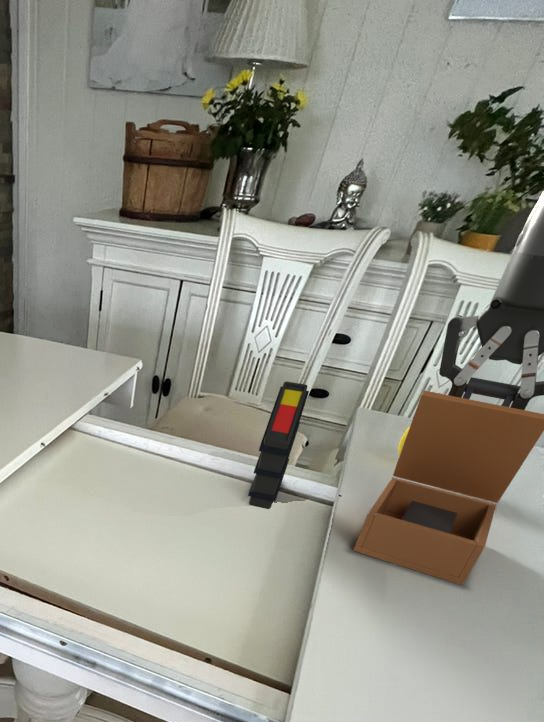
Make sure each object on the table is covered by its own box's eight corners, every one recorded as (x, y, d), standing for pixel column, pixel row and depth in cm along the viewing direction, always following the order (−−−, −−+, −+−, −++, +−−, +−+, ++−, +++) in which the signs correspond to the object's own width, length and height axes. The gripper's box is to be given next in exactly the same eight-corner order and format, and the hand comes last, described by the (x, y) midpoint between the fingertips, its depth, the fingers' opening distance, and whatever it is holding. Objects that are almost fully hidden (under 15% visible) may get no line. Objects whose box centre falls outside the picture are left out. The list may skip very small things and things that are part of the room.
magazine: (288, 464, 91) (311, 383, 78) (267, 530, 86) (288, 455, 73) (263, 459, 92) (282, 379, 79) (241, 524, 87) (257, 450, 74)
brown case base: (462, 585, 69) (484, 546, 66) (352, 550, 74) (368, 512, 71) (476, 540, 78) (496, 504, 74) (377, 512, 83) (392, 476, 80)
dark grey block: (447, 533, 77) (457, 512, 75) (434, 565, 71) (445, 543, 69) (402, 520, 80) (412, 500, 78) (386, 550, 73) (396, 528, 71)
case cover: (550, 420, 61) (567, 381, 63) (421, 394, 67) (439, 359, 68) (497, 503, 74) (512, 469, 75) (392, 476, 79) (408, 445, 81)
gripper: (646, 255, 57) (547, 429, 68) (482, 240, 63) (415, 401, 74) (651, 262, 52) (544, 448, 63) (472, 245, 58) (403, 417, 69)
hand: (475, 422), depth 69 cm, fingers closed on case cover, 5 cm apart
